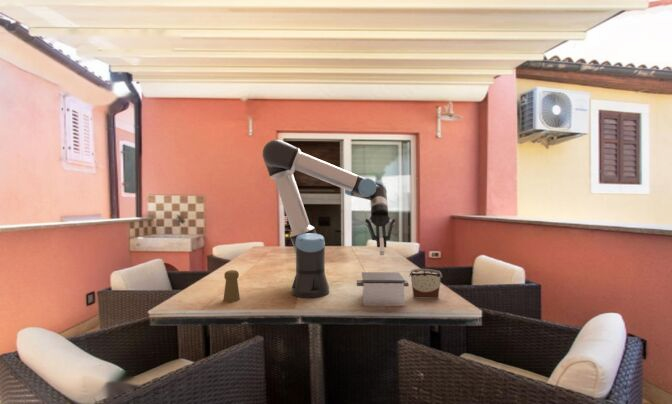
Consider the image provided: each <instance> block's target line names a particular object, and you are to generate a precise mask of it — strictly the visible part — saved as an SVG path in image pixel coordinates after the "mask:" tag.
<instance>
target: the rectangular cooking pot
mask: <svg viewBox="0 0 672 404" xmlns="http://www.w3.org/2000/svg"><path fill="white" fill-rule="evenodd" d="M404 280H405V279H404ZM409 284H410V283H409V282H408V281H407V280H405V283H395V282H363V279H357V280H356V287H362V300H363V306H365V307H405V287H409V286H410V285H409Z"/></svg>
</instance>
